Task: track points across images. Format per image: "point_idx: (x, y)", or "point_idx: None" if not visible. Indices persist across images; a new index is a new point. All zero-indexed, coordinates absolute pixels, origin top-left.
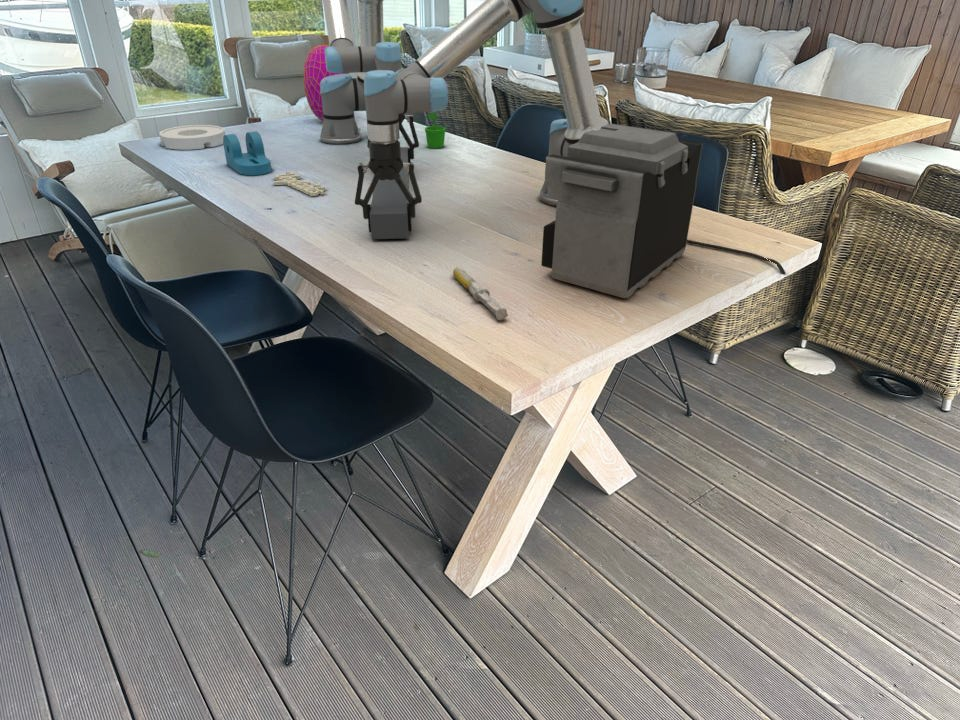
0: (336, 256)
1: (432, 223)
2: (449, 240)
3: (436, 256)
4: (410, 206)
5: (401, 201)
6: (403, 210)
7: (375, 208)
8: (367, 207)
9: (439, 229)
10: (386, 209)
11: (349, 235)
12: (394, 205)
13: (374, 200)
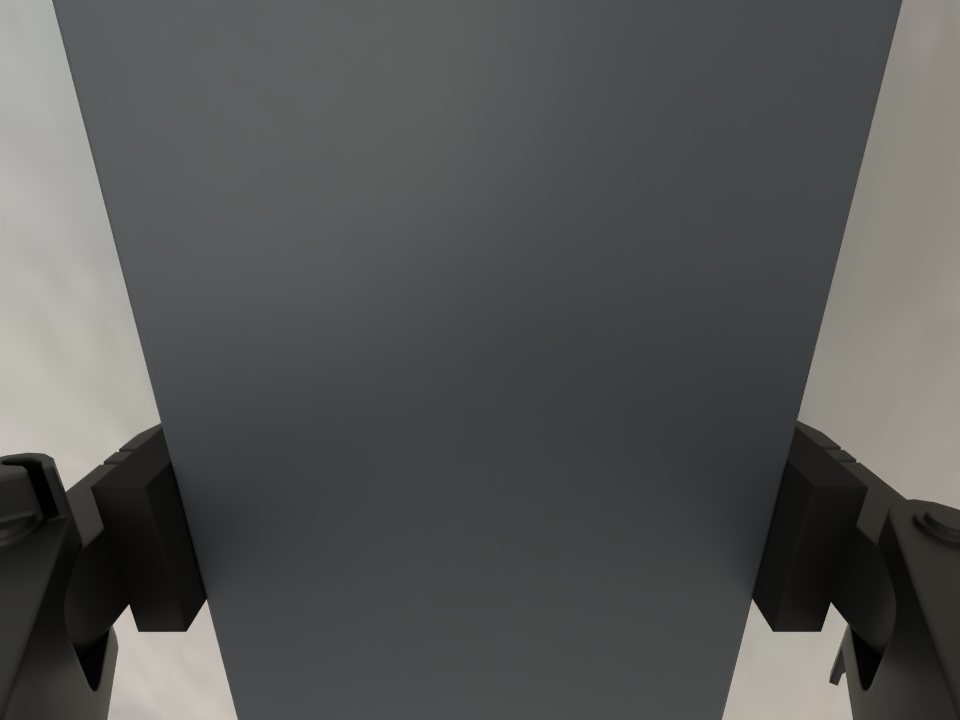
0: (154, 699)
1: (944, 32)
2: (933, 495)
3: (760, 716)
4: (827, 590)
5: (728, 221)
6: (688, 647)
7: (271, 558)
8: (142, 625)
9: (948, 239)
10: (445, 602)
11: (110, 354)
12: (572, 447)
13: (139, 111)
